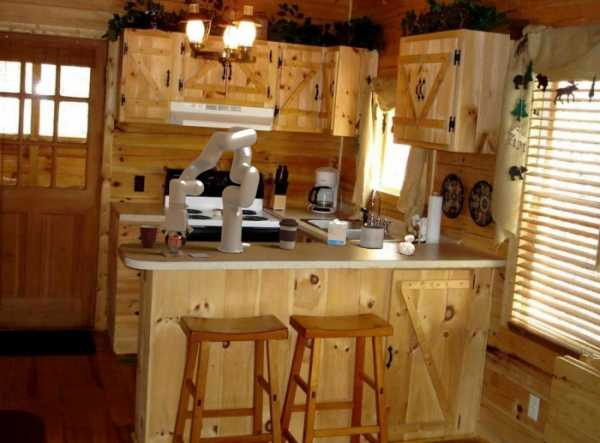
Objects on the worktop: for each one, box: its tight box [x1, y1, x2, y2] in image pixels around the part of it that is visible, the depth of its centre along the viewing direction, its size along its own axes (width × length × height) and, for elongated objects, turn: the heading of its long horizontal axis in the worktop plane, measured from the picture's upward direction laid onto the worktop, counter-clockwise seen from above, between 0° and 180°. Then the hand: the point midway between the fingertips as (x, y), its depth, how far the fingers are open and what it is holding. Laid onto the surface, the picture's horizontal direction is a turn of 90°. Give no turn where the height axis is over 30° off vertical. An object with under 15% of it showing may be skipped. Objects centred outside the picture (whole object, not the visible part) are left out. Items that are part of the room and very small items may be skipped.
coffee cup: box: [278, 218, 299, 250], centre depth 416 cm, size 10×10×15 cm
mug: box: [139, 224, 158, 249], centre depth 389 cm, size 11×8×10 cm
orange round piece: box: [166, 234, 183, 248], centre depth 375 cm, size 7×7×5 cm
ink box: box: [326, 218, 348, 246], centre depth 442 cm, size 9×8×13 cm
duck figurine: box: [397, 234, 416, 256], centre depth 426 cm, size 12×8×11 cm
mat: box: [187, 253, 211, 259], centre depth 378 cm, size 8×8×1 cm
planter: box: [359, 224, 385, 250], centre depth 441 cm, size 13×13×11 cm
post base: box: [160, 246, 189, 258], centre depth 375 cm, size 10×10×7 cm
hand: (175, 244), depth 375 cm, fingers closed on orange round piece, 6 cm apart
